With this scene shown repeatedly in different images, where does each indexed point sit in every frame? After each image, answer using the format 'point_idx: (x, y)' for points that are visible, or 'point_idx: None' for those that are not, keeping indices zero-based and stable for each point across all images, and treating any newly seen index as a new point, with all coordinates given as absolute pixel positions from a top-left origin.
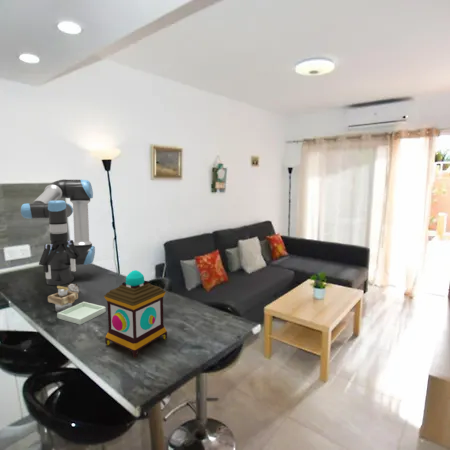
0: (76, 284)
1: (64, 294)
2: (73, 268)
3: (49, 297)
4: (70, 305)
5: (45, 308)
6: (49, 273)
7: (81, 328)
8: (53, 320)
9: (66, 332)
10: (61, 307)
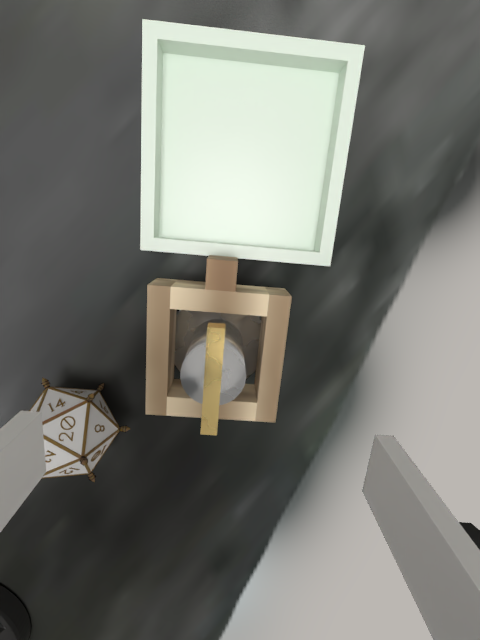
0: None
1: (226, 335)
2: (17, 456)
3: (277, 403)
4: None
5: None
6: (430, 488)
7: (387, 16)
8: (347, 261)
9: (446, 68)
10: None
